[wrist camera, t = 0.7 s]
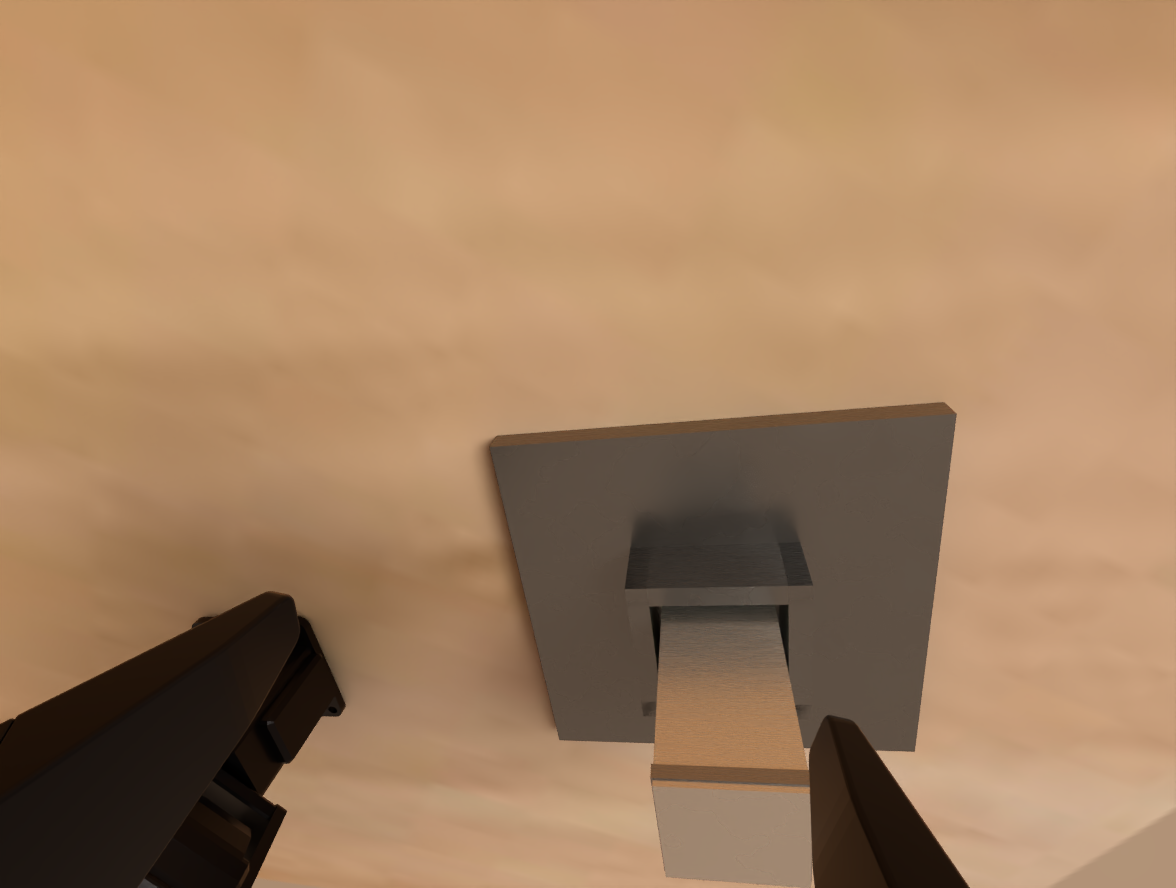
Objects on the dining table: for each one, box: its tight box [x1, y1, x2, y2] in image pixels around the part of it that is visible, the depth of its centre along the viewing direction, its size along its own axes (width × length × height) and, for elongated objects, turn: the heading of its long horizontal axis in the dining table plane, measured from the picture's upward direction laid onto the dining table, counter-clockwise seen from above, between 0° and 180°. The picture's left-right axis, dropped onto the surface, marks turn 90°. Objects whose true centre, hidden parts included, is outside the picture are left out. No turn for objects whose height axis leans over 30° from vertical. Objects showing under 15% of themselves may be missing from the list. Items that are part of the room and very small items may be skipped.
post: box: [651, 605, 812, 888], centre depth 20 cm, size 4×4×9 cm
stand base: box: [490, 403, 956, 752], centre depth 23 cm, size 16×16×4 cm
